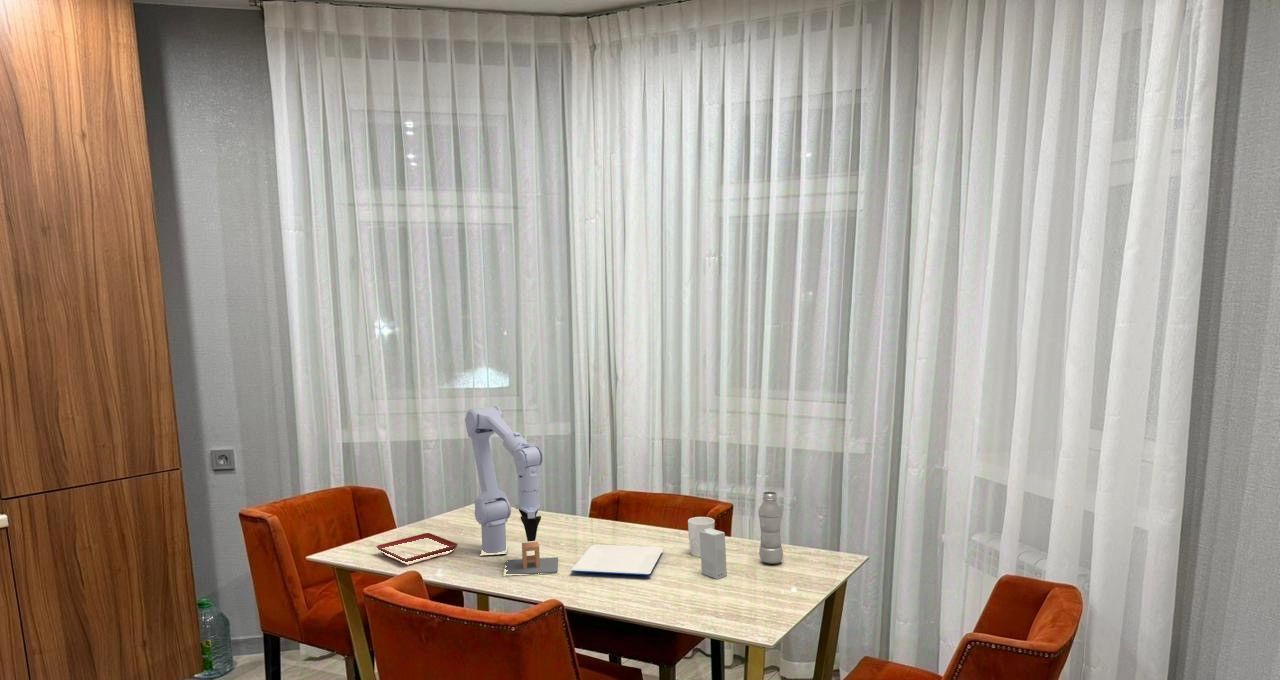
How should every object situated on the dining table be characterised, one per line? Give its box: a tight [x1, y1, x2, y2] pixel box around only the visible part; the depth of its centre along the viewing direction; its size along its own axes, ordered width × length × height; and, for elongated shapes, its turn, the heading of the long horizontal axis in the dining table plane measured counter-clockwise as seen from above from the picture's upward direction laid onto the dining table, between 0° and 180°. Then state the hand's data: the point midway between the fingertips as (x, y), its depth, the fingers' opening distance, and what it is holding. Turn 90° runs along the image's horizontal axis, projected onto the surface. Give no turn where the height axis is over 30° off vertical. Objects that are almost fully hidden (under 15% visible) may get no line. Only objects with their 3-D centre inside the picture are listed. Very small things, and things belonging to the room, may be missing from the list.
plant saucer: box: [376, 532, 459, 562], centre depth 228 cm, size 18×18×3 cm
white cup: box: [687, 516, 715, 558], centre depth 222 cm, size 8×8×10 cm
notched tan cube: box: [521, 541, 540, 569], centre depth 214 cm, size 5×5×6 cm
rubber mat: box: [504, 556, 559, 575], centre depth 214 cm, size 12×15×1 cm
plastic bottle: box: [757, 491, 784, 565], centre depth 213 cm, size 6×7×20 cm
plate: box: [570, 544, 665, 576], centre depth 215 cm, size 22×22×2 cm
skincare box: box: [700, 528, 728, 580], centre depth 204 cm, size 6×4×12 cm
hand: (530, 536), depth 213 cm, fingers open, 7 cm apart
